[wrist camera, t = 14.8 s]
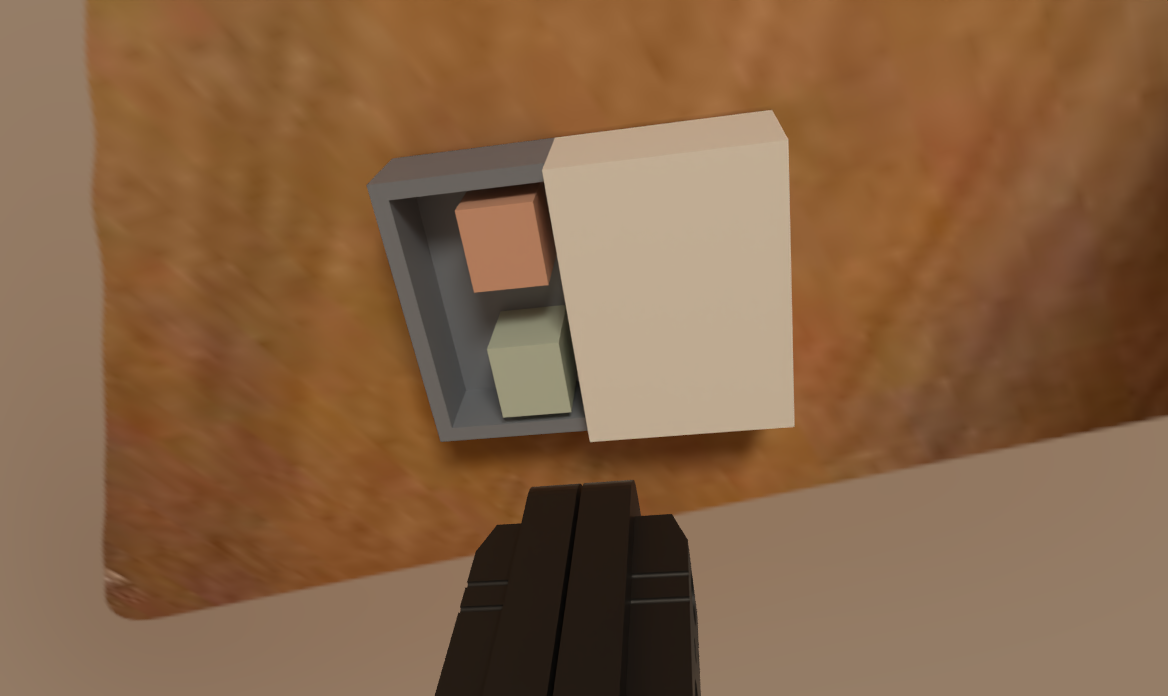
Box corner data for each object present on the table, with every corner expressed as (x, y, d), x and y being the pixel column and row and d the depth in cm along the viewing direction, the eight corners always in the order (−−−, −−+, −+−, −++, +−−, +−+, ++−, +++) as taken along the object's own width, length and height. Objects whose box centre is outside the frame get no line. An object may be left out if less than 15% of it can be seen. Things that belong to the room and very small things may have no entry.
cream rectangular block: (771, 110, 36) (788, 140, 32) (779, 372, 43) (794, 426, 38) (554, 137, 37) (542, 170, 33) (596, 387, 44) (589, 441, 40)
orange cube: (533, 201, 34) (454, 210, 35) (548, 285, 36) (474, 292, 37) (544, 173, 38) (472, 181, 38) (557, 250, 40) (489, 258, 40)
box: (554, 137, 37) (545, 162, 34) (596, 387, 44) (591, 430, 41) (392, 158, 38) (366, 185, 35) (456, 399, 45) (440, 441, 42)
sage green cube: (558, 342, 38) (486, 349, 38) (571, 412, 40) (503, 417, 40) (566, 304, 41) (500, 311, 42) (577, 370, 43) (514, 375, 44)
